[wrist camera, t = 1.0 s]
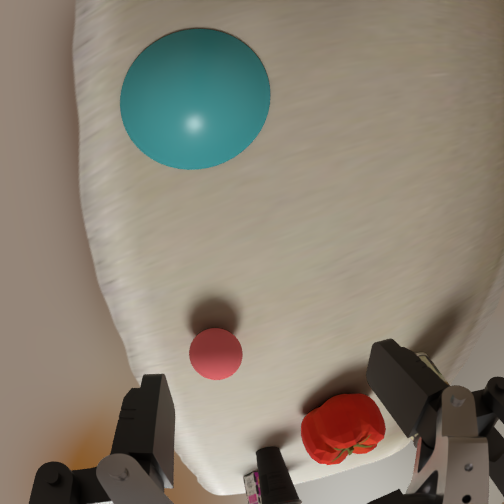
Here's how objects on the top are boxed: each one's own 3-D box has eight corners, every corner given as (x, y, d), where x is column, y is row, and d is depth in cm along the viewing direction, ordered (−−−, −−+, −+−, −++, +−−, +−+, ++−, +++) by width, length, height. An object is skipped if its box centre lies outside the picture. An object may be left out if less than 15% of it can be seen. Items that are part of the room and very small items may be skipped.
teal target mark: (120, 40, 16) (119, 39, 16) (268, 29, 18) (269, 28, 18) (126, 176, 22) (126, 177, 22) (270, 164, 23) (270, 165, 23)
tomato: (378, 374, 41) (406, 422, 32) (354, 416, 47) (373, 457, 38) (303, 390, 39) (324, 448, 30) (288, 430, 45) (303, 478, 35)
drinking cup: (249, 460, 49) (267, 538, 32) (248, 447, 46) (267, 536, 28) (284, 454, 50) (307, 530, 33) (287, 441, 47) (312, 527, 29)
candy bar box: (241, 477, 55) (252, 531, 41) (252, 471, 54) (265, 527, 39) (276, 477, 59) (289, 526, 45) (288, 471, 58) (302, 522, 43)
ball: (185, 319, 29) (185, 358, 24) (237, 314, 30) (245, 352, 25) (193, 354, 32) (194, 392, 27) (239, 350, 32) (246, 386, 28)
